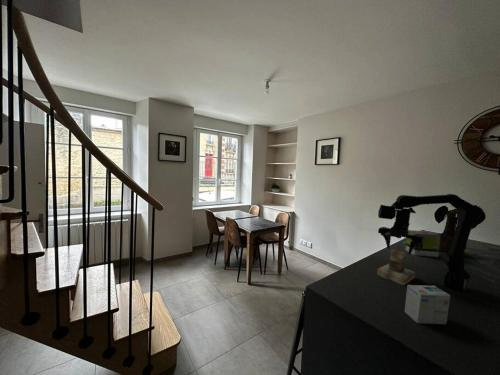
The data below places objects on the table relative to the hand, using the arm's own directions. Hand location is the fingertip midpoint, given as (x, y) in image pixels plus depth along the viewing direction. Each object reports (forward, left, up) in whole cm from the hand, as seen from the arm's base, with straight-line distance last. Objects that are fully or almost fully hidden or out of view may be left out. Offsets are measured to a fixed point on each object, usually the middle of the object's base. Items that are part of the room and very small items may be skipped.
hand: (398, 251), depth 110 cm
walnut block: (0, 0, -10) cm, 10 cm away
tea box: (+4, -55, -13) cm, 57 cm away
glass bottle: (-5, -78, -13) cm, 79 cm away
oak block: (0, 0, -5) cm, 5 cm away
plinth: (0, 0, -13) cm, 13 cm away
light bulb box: (-19, +28, -13) cm, 36 cm away
